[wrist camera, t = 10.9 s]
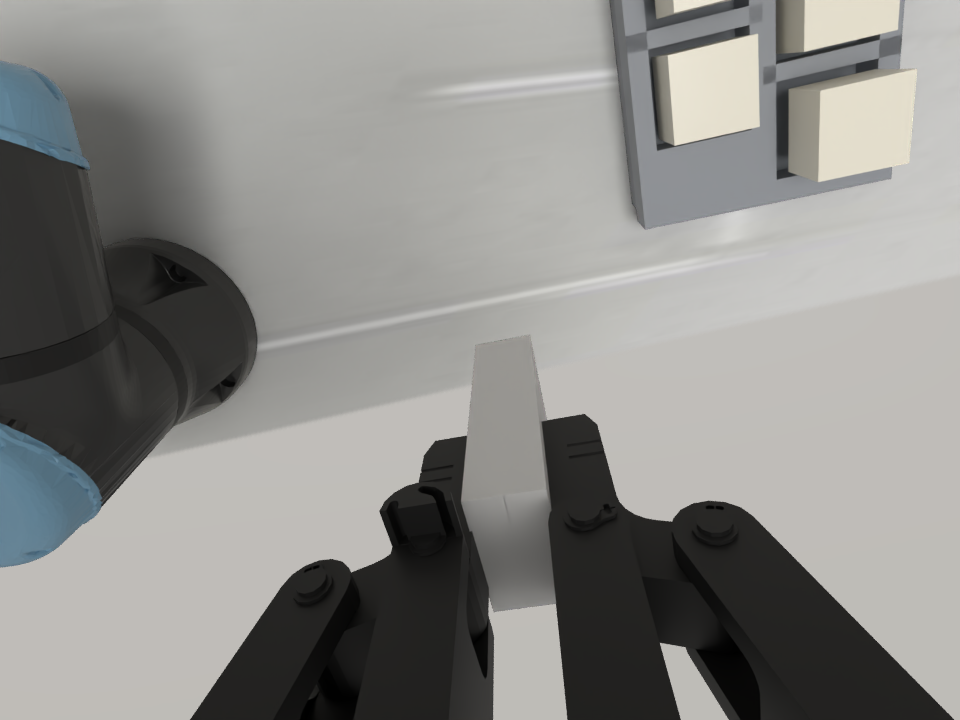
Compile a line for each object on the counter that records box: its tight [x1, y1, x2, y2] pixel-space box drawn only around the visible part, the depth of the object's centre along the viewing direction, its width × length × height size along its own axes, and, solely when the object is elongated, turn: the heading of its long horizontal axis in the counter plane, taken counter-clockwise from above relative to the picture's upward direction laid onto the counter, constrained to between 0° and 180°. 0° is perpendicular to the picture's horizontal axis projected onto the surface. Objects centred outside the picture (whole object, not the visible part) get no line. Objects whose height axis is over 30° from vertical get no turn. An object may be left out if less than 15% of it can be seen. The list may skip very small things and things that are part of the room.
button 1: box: [788, 69, 917, 182], centre depth 35 cm, size 5×5×4 cm
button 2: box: [652, 34, 760, 146], centre depth 36 cm, size 5×5×4 cm
